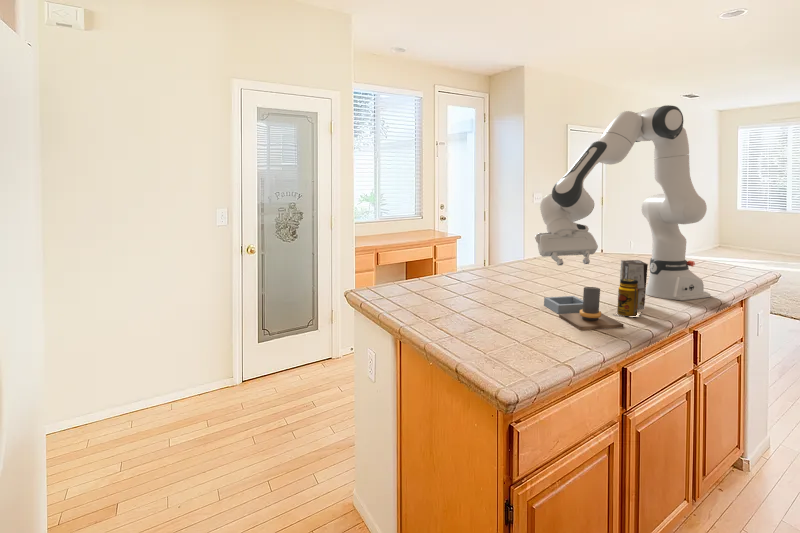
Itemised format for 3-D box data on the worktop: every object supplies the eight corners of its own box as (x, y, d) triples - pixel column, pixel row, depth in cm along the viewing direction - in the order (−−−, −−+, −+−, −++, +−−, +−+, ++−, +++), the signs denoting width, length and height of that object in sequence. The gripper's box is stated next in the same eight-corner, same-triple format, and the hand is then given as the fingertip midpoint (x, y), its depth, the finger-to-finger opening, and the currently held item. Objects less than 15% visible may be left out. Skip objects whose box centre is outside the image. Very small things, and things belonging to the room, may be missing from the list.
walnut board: (598, 314, 149) (598, 311, 149) (623, 327, 136) (623, 324, 136) (558, 316, 148) (559, 314, 148) (580, 330, 134) (580, 326, 134)
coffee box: (645, 309, 154) (648, 264, 151) (625, 309, 155) (628, 263, 152) (636, 302, 163) (639, 259, 160) (618, 302, 164) (620, 259, 161)
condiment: (613, 315, 149) (615, 280, 147) (619, 309, 155) (622, 276, 153) (637, 318, 144) (639, 282, 142) (643, 312, 150) (645, 278, 148)
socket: (573, 303, 164) (573, 295, 163) (589, 312, 153) (590, 303, 152) (543, 305, 163) (544, 297, 162) (558, 314, 151) (558, 305, 151)
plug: (594, 315, 145) (596, 285, 143) (605, 321, 139) (607, 290, 137) (575, 316, 145) (577, 286, 143) (585, 322, 138) (587, 291, 137)
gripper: (536, 227, 155) (547, 259, 147) (591, 225, 157) (606, 257, 149) (531, 239, 160) (541, 270, 152) (584, 236, 162) (598, 267, 154)
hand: (574, 263), depth 151 cm, fingers open, 8 cm apart
